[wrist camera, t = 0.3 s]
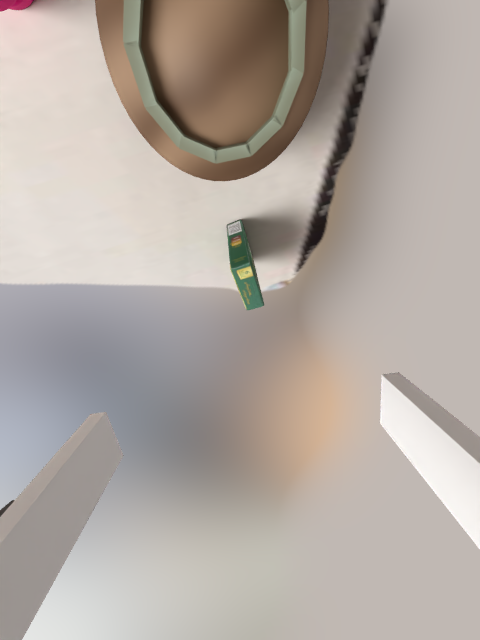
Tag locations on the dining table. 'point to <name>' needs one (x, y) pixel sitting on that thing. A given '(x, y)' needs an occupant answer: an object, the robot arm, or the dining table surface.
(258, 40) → the stool
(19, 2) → the pepper mill
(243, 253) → the coffee box
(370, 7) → the dining table surface
